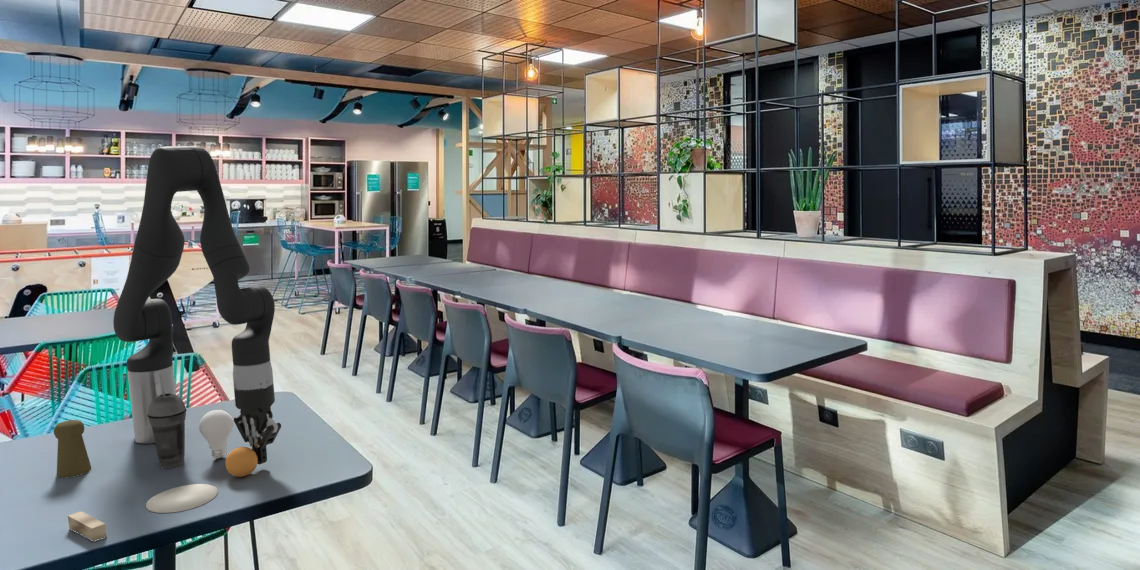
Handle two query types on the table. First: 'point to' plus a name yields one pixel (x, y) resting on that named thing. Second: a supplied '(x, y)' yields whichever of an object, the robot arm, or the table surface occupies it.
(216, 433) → the light bulb
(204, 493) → the plate
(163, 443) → the beverage cup
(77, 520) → the rail
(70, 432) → the cork
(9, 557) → the table surface
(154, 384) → the robot arm
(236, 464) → the ball
